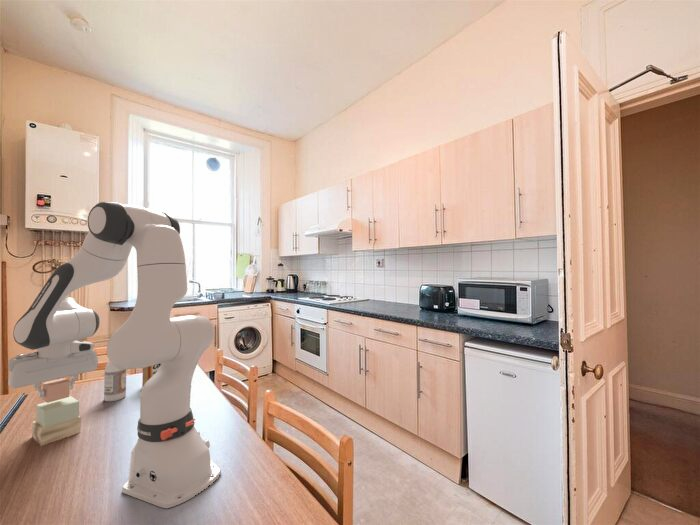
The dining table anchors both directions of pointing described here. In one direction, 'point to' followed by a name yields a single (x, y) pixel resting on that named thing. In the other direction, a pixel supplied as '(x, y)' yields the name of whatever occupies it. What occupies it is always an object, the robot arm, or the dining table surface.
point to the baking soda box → (149, 372)
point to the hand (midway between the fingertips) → (56, 392)
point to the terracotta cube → (55, 390)
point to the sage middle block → (57, 411)
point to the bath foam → (114, 383)
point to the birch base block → (55, 431)
